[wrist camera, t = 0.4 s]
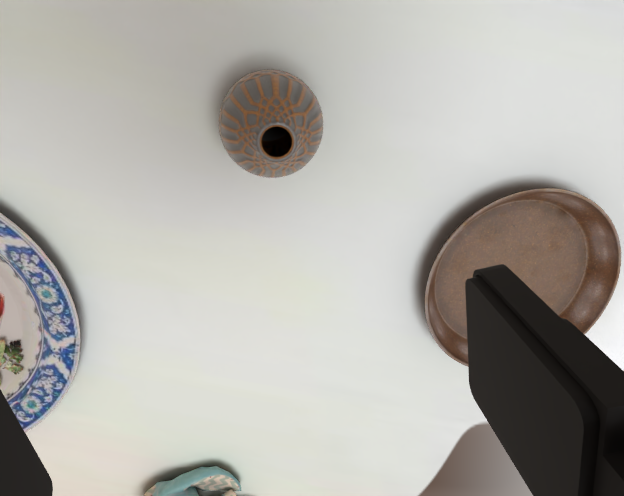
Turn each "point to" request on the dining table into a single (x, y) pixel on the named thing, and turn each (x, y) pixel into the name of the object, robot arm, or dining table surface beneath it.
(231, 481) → the stuffed animal
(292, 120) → the vase
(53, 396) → the ceramic plate
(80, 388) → the dining table surface
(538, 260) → the plant saucer
